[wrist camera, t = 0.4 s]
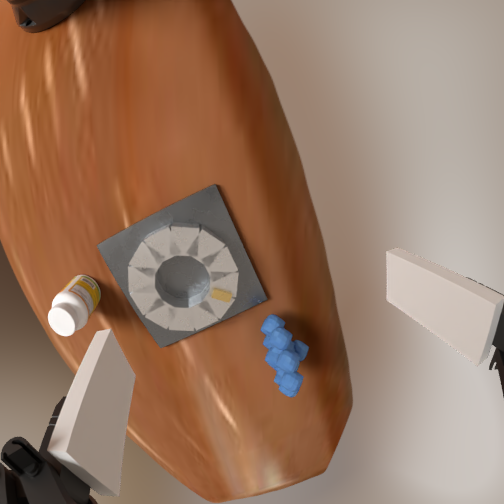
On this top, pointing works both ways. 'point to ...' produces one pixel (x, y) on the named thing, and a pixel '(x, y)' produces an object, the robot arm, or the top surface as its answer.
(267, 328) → the grapes
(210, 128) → the top surface
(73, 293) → the supplement bottle
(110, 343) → the robot arm
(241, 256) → the hub plate
